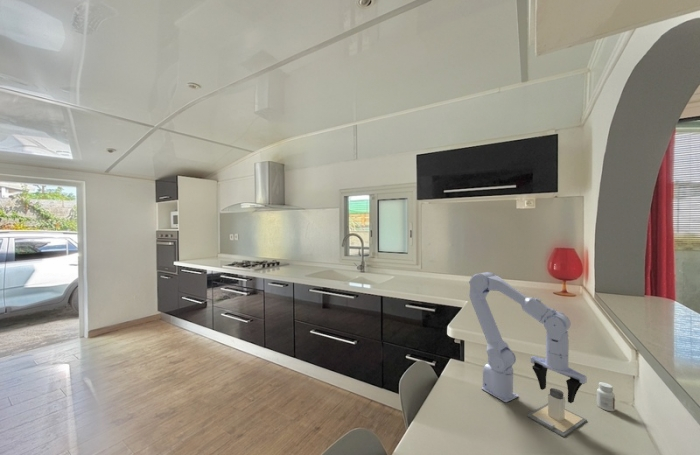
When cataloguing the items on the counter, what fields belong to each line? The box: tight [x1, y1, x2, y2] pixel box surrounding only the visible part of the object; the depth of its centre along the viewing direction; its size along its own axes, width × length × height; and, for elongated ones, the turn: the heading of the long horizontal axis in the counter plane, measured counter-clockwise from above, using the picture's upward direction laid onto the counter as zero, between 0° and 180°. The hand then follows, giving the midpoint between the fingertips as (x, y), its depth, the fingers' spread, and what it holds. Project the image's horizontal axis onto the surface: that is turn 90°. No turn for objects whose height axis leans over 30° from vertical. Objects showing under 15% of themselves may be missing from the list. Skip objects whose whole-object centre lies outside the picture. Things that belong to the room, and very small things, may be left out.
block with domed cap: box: [547, 387, 566, 421], centre depth 85 cm, size 3×3×8 cm
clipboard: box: [526, 403, 588, 438], centre depth 85 cm, size 10×15×1 cm, turn 119°
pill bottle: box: [596, 381, 616, 412], centre depth 91 cm, size 4×4×8 cm
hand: (556, 395), depth 85 cm, fingers open, 7 cm apart
